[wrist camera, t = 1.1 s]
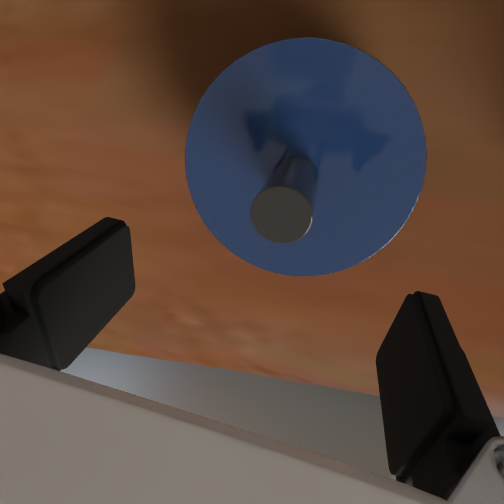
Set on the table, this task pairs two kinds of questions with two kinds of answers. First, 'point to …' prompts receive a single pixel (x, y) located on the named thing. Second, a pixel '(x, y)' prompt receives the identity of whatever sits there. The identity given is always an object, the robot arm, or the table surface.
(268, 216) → the lid
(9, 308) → the robot arm
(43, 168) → the table surface
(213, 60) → the table surface
